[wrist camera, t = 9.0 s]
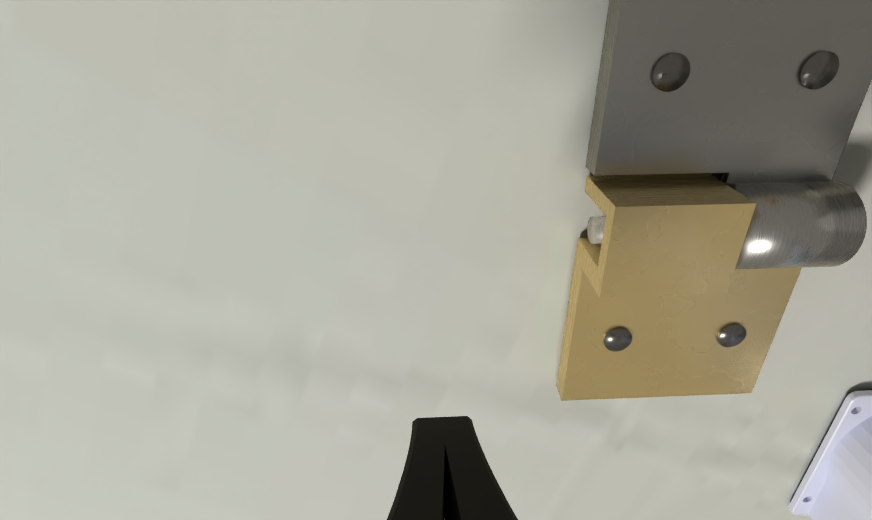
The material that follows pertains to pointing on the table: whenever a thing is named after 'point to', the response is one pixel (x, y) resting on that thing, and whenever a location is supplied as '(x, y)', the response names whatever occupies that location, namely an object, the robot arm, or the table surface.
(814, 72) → the fixed leaf
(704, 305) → the tan hinge plate
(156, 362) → the table surface
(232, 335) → the table surface
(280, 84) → the table surface
